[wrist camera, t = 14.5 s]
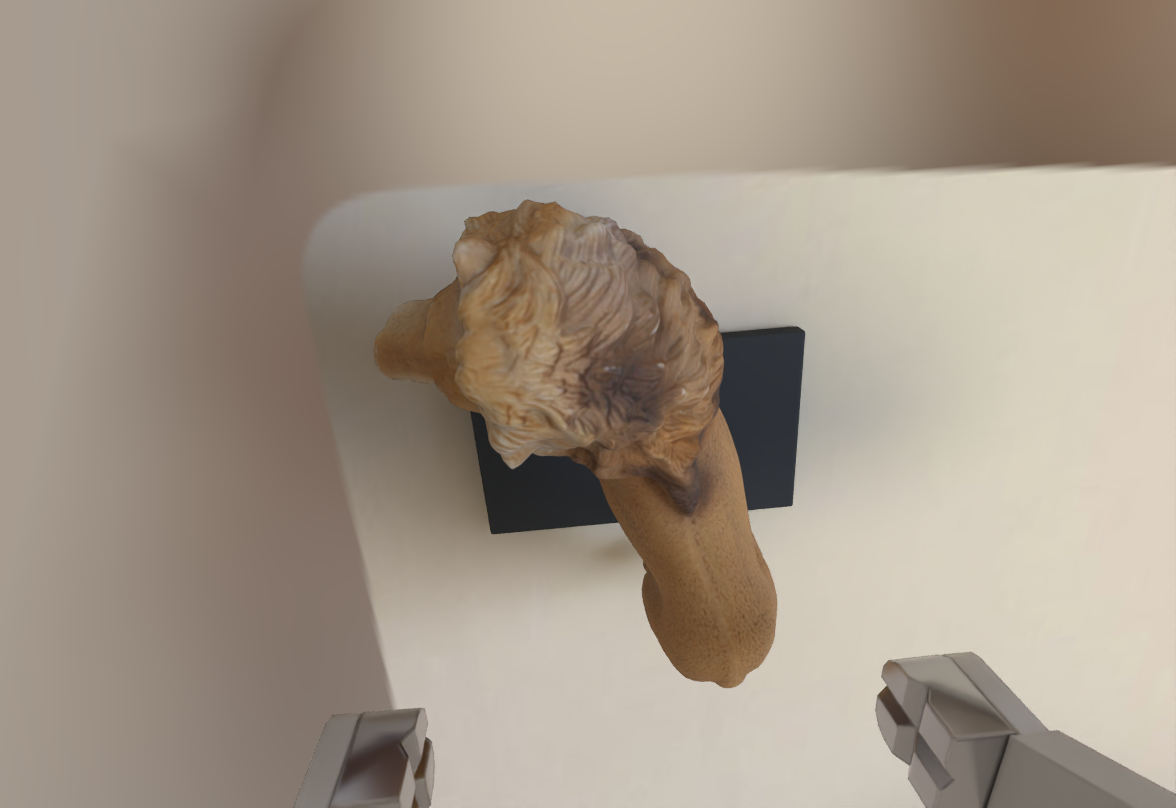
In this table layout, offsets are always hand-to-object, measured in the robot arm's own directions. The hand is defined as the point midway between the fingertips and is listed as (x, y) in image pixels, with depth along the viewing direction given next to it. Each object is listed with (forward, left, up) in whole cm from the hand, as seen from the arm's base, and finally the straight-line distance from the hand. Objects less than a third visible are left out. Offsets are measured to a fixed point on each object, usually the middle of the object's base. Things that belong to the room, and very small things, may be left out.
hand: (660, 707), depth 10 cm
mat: (+1, +1, -9) cm, 9 cm away
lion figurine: (0, +2, -9) cm, 9 cm away
